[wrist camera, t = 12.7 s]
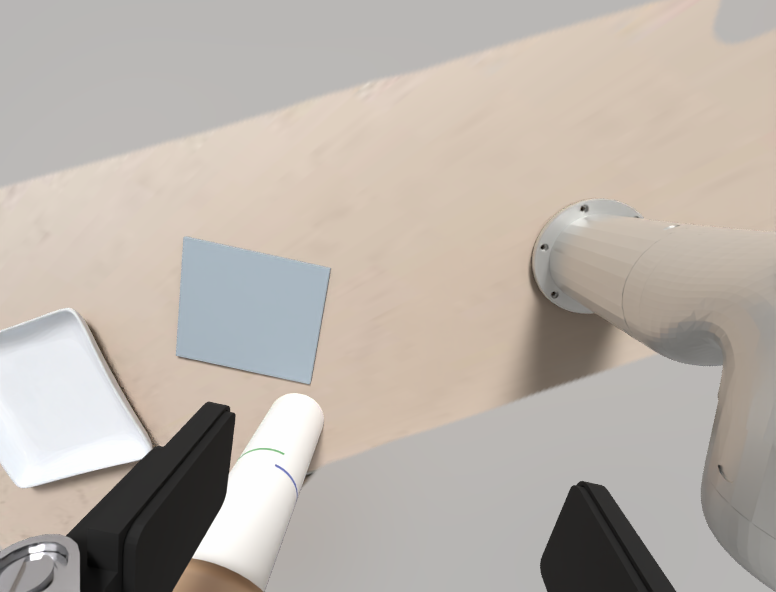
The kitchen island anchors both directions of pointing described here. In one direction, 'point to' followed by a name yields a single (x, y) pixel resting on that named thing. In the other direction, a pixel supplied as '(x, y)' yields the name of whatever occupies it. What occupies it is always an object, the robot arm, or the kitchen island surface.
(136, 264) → the kitchen island surface
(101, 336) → the kitchen island surface
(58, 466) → the salad plate
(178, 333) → the mat
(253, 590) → the lid
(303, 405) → the cylindrical container
